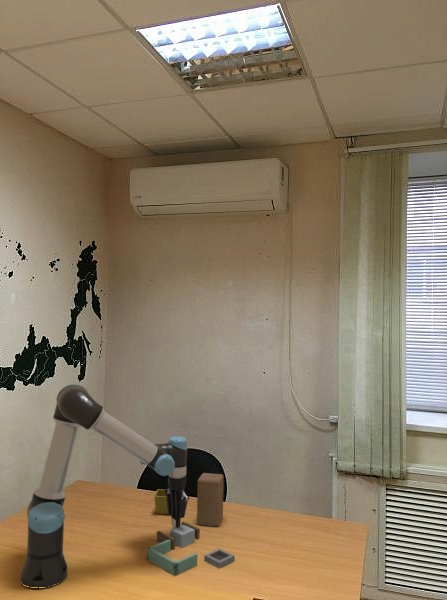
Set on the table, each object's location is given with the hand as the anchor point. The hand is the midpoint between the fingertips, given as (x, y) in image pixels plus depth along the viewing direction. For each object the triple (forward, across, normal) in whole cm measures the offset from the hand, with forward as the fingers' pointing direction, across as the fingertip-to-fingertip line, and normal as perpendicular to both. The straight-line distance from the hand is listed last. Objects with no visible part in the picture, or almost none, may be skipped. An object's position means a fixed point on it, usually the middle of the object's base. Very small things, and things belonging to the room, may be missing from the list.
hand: (175, 533), depth 199 cm
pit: (+2, -25, 0) cm, 25 cm away
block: (+2, -4, 0) cm, 5 cm away
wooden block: (+2, +2, -22) cm, 22 cm away
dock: (+2, -14, +14) cm, 19 cm away
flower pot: (+2, +24, -14) cm, 28 cm away
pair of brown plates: (+2, -2, 0) cm, 3 cm away
